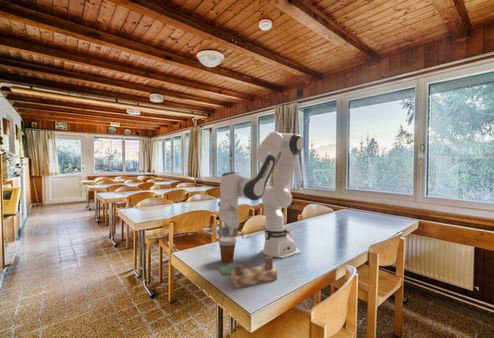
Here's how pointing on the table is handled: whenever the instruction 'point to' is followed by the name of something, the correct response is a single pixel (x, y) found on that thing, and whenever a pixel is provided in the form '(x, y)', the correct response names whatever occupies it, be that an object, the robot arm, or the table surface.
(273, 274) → the plane body
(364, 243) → the table surface
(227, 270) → the felt pad
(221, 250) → the disposable coffee cup
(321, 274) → the table surface
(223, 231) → the lever cap
